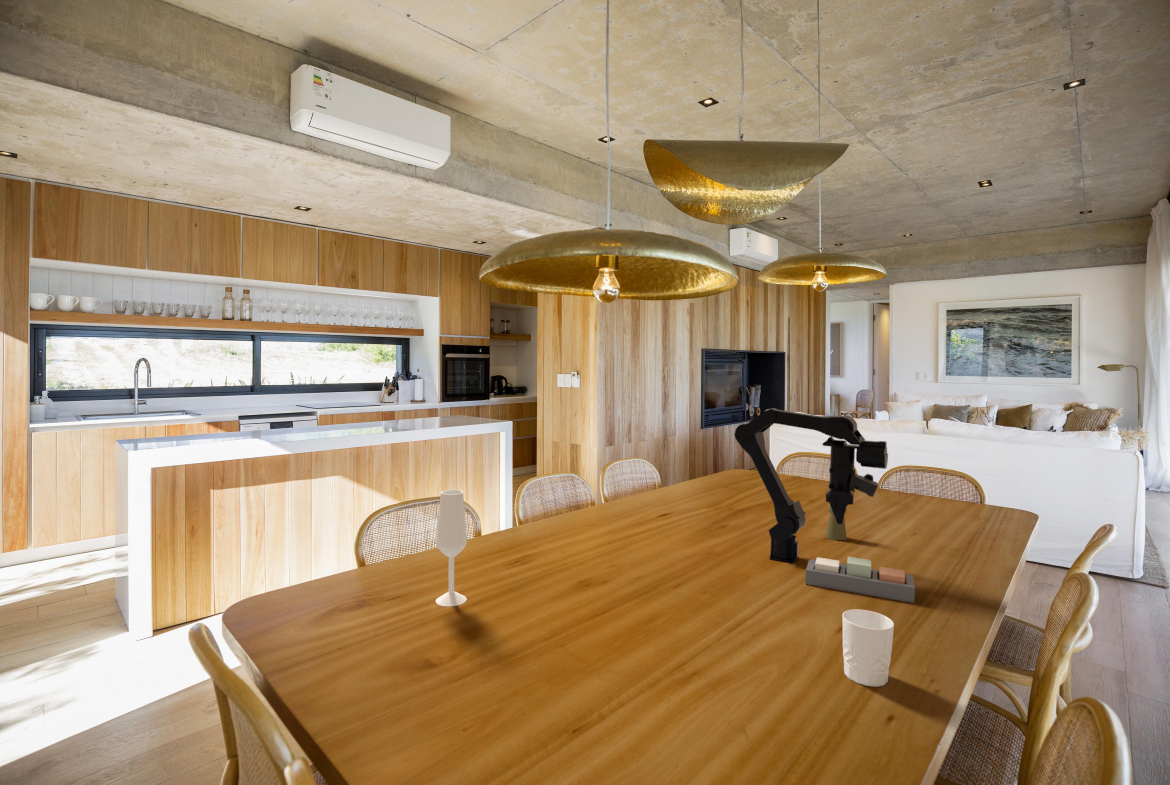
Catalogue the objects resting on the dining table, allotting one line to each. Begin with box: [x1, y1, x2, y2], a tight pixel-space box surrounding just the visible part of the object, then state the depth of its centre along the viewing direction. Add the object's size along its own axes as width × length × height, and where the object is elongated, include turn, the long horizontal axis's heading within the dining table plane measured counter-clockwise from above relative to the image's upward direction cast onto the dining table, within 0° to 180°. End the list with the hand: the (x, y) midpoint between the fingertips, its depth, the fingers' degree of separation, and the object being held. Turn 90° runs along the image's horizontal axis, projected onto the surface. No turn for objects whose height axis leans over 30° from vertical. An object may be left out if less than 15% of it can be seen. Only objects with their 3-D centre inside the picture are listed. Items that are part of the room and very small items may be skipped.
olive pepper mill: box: [825, 503, 848, 541], centre depth 178 cm, size 6×6×11 cm
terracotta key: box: [878, 566, 906, 584], centre depth 135 cm, size 5×5×4 cm
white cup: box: [841, 608, 895, 688], centre depth 98 cm, size 8×8×10 cm
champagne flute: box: [435, 489, 468, 607], centre depth 126 cm, size 7×7×24 cm
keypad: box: [804, 558, 916, 604], centre depth 138 cm, size 23×9×4 cm, turn 64°
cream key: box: [815, 556, 840, 573], centre depth 142 cm, size 5×5×4 cm
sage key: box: [846, 556, 872, 578], centre depth 138 cm, size 5×5×4 cm
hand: (839, 523), depth 150 cm, fingers closed
